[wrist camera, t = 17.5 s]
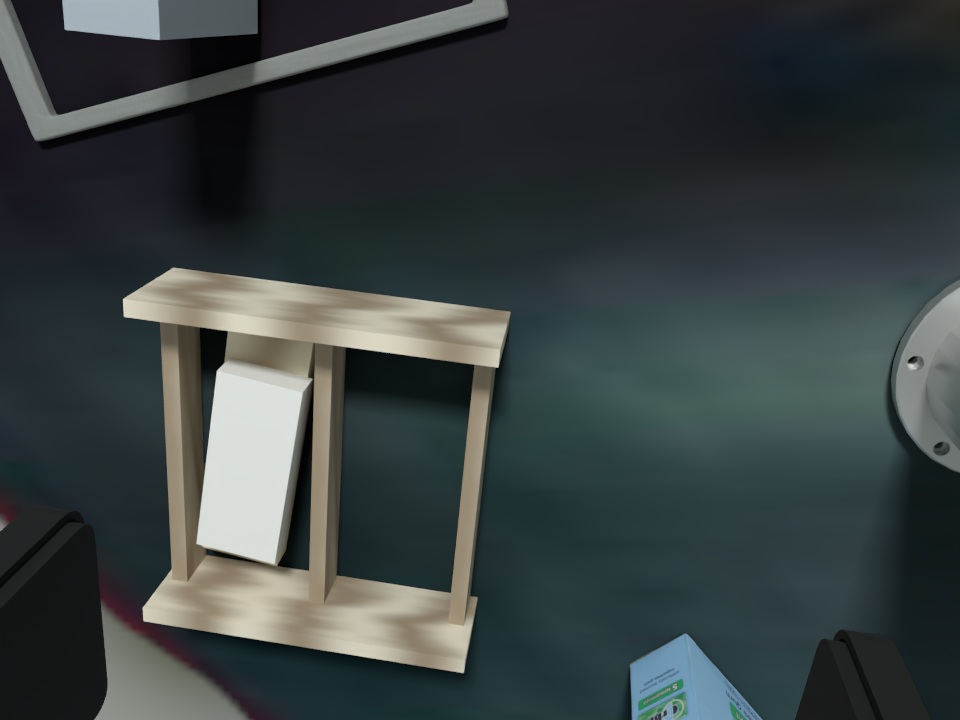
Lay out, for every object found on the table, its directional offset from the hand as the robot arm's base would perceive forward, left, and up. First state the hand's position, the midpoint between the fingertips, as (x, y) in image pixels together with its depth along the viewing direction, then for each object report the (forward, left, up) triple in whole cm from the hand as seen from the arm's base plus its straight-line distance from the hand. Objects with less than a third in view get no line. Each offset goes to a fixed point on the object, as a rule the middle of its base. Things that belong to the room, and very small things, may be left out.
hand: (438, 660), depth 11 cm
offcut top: (+16, +19, -36) cm, 44 cm away
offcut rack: (+12, +19, -38) cm, 44 cm away
